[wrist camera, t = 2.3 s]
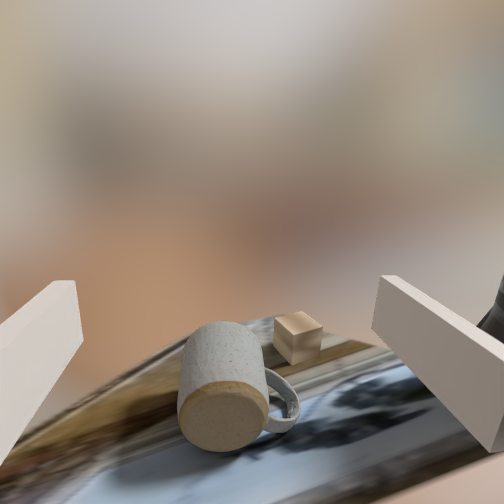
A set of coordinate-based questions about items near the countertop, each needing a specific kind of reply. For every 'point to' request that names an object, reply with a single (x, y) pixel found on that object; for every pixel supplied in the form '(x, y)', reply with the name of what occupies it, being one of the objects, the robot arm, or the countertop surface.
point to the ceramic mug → (228, 389)
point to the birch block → (297, 337)
